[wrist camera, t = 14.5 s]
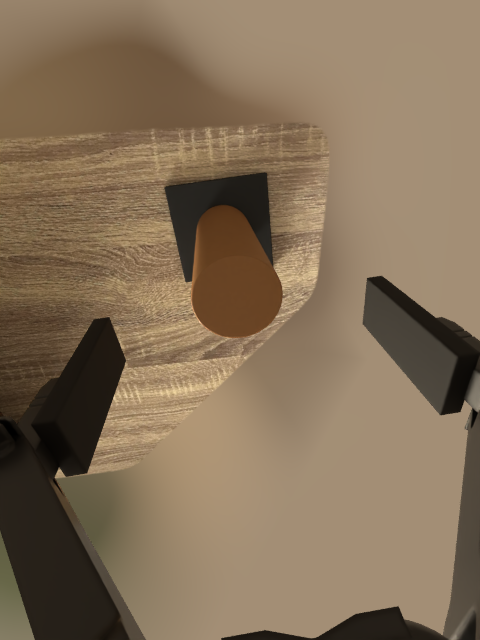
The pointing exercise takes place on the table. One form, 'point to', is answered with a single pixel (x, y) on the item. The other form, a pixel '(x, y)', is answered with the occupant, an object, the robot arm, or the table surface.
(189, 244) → the mat
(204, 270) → the brown cylinder
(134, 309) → the table surface
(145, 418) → the table surface
